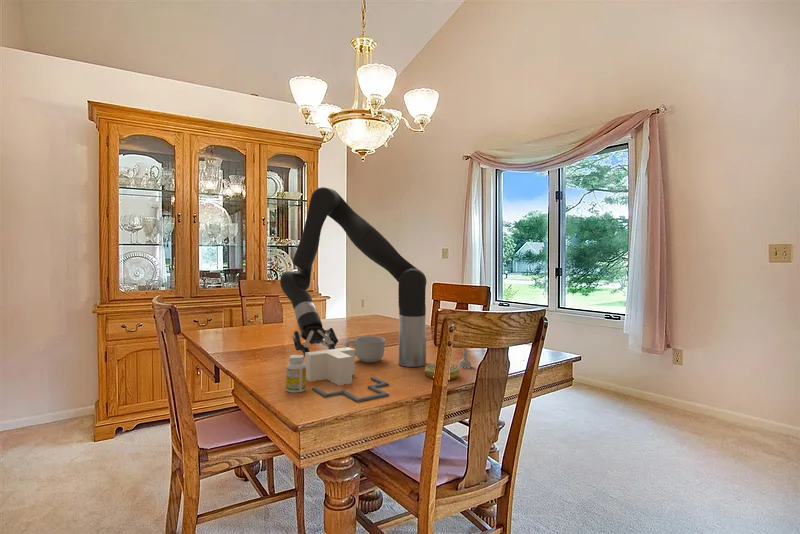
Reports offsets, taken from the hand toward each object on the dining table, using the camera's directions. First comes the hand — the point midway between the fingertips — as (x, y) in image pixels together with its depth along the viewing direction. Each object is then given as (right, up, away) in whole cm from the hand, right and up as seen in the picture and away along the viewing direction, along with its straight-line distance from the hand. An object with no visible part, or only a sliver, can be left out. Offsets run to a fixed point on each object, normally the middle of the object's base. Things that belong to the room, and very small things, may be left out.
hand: (321, 357), depth 145 cm
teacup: (+13, -5, +17) cm, 21 cm away
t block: (+6, -5, -8) cm, 11 cm away
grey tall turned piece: (+48, -5, +10) cm, 49 cm away
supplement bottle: (-4, -5, -19) cm, 20 cm away
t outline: (+13, -5, -19) cm, 24 cm away
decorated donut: (+38, -6, -3) cm, 39 cm away
